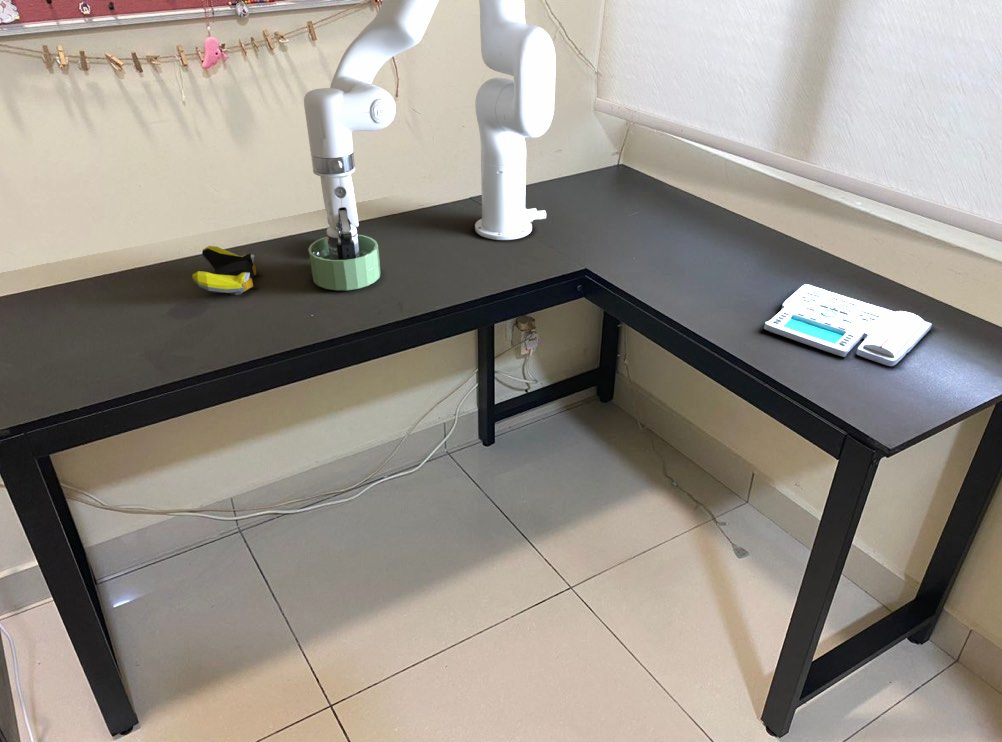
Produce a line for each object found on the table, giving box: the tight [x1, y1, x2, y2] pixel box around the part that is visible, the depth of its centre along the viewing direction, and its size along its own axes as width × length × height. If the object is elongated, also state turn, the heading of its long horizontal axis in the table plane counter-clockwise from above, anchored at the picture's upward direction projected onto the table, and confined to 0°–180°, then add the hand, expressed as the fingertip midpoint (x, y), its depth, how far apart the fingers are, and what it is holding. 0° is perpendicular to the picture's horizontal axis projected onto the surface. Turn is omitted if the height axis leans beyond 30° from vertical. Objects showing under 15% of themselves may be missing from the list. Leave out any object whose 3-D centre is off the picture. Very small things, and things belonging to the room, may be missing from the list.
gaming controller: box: [191, 245, 257, 296], centre depth 152 cm, size 15×6×10 cm
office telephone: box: [763, 283, 933, 367], centre depth 139 cm, size 23×3×20 cm
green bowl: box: [307, 233, 381, 291], centre depth 154 cm, size 13×13×6 cm
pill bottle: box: [326, 212, 360, 260], centre depth 152 cm, size 6×6×10 cm
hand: (344, 255), depth 153 cm, fingers closed on pill bottle, 5 cm apart
